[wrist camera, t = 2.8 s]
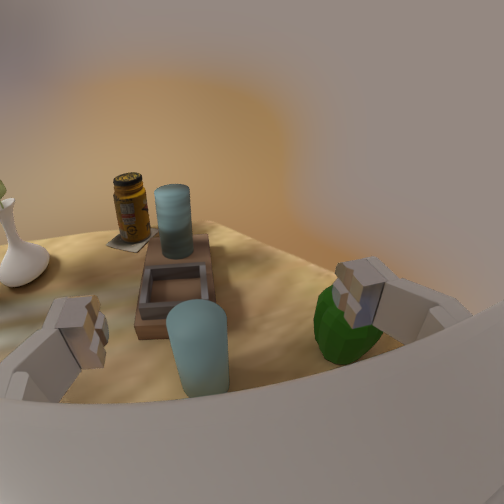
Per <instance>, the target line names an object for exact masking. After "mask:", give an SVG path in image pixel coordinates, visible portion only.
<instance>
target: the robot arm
mask: <svg viewBox="0 0 504 504" xmlns="http://www.w3.org/2000/svg"><path fill="white" fill-rule="evenodd" d="M335 274H336V276H337V277H338V278H337V279H336V281H335V282H334V283H333V288H332V296H333V300H334V303H335V305H336V306H337V308H338V309H340V310H342V311H344V312H345V313H344V318H345V319H346V321H347V322H348V324H349V325H350V326H351V328H352V329H354V328H359V327H363V326H367V325H371V324H373V326H375V327H376V328H378V329H380V330H381V331H383V332H385V333H386V334H388V335H389V336H391V337H393V338H394V339H396V340H398V341H399V342H401V343H403V344H404V345H405V346H402V347H400V348H397V349H394V350H391V351H389V352H386V353H383V354H380V355H377V356H374V357H371V358H368V359H365V360H362V361H359V362H356V363H353V364H349V365H346V366H343V367H339V368H336V369H332V370H329V371H325V372H321V373H318V374H314V375H310V376H306V377H302V378H298V379H294V380H290V381H285V382H281V383H276V384H272V385H267V386H262V387H257V388H252V389H246V390H241V391H235V392H229V393H223V394H216V395H209V396H202V397H194V398H186V399H176V400H166V401H154V402H139V403H117V404H70V403H59V401H60V400H61V398H62V397H63V395H64V394H65V393H66V391H67V390H68V389H69V387H70V386H71V384H72V383H73V382H74V380H75V379H76V378H77V376H78V375H79V373H80V372H81V369H96V368H104V364H105V357H106V351H105V349H104V346H105V345H106V344H107V343H108V339H109V330H108V324H107V320H106V318H105V315H103V314H102V313H101V312H100V311H99V309H100V305H101V304H100V302H99V300H98V297H97V296H96V295H83V296H70V297H59V298H56V299H54V301H53V303H52V305H51V308H50V310H49V312H48V315H47V317H46V319H45V322H44V324H43V326H42V329H41V330H37V331H36V332H34V333H33V334H32V335H31V336H30V337H29V338H27V339H26V340H25V341H24V342H23V343H22V344H21V345H19V346H18V347H17V348H16V349H15V350H14V351H13V352H12V353H10V354H9V355H8V356H7V357H6V358H5V359H4V360H3V361H2V362H1V363H0V504H504V300H503V301H501V302H499V303H497V304H495V305H494V306H491V307H489V308H488V309H486V310H484V311H482V312H480V313H478V314H476V315H474V316H473V315H472V314H471V313H470V312H469V311H468V310H467V309H466V308H465V307H464V306H463V305H462V304H461V303H460V302H459V301H458V300H457V299H455V298H453V297H451V296H448V295H445V294H443V293H440V292H437V291H435V290H432V289H430V288H427V287H425V286H422V285H420V284H417V283H414V282H412V281H409V280H406V279H404V278H402V279H399V278H398V277H397V276H396V275H395V274H394V273H393V272H392V271H391V270H390V269H389V268H388V267H387V266H385V264H384V263H383V262H381V261H380V260H379V259H378V258H377V257H374V256H372V257H367V258H363V259H358V260H353V261H347V262H341V263H338V264H337V266H336V270H335Z"/></svg>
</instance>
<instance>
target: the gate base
mask: <svg viewBox="0 0 504 504" xmlns="http://www.w3.org/2000/svg"><path fill="white" fill-rule="evenodd" d="M189 190H190V189H189V187H188V186H186V185H182V184H169V185H164V186H161V187H159V188H157V189H156V190H155V191H154V194H155V203H156V212H157V219H158V228H159V235H160V237H155V238H150V239H149V244H148V249H147V254H146V258H145V264H144V269H143V274H142V279H141V285H140V291H139V297H138V303H137V309H136V316H135V323H134V327H135V330H136V333H137V336H138V339H139V340H147V339H168V338H169V335H168V331H167V326H166V319H167V316H168V314H169V312H170V311H171V310H172V309H173V308H174V307H175V306H176V305H178V304H180V303H182V302H185V301H188V300H193V299H203V300H208V301H211V302H214V303H216V298H215V290H214V281H213V273H212V265H211V256H210V247H209V238H208V234H197V235H192V221H191V206H190V191H189Z"/></svg>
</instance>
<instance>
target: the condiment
mask: <svg viewBox="0 0 504 504" xmlns="http://www.w3.org/2000/svg"><path fill="white" fill-rule="evenodd" d="M113 183H114V190H115V192H114V195H113V197H114V203H115V209H116V214H117V220H118V225H119V230H120V234H118V235H117V236H116V237H115V238H113V239H112V240H111V241H110V242H108V243H107V244H106V245H107V246H110V247H113V248H117V249H122V250H127V251H130V252H136V253H137V251H138V250H139V249H141V247H142V246H143V245H145V243H147V242H148V241H149V239H150V238H152V237H153V236H154V235H155V234H156V233H157V232H158V231H159V229H154V228H150V221H149V214H148V206H147V199H146V190H145V188H144V187H143V182H142V175H141V174H139V173H135V172H131V173H126V174H122V175H119V176H117V177H116V178H114V181H113ZM134 244H136V245H134ZM132 245H133V246H132Z"/></svg>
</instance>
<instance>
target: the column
mask: <svg viewBox="0 0 504 504" xmlns="http://www.w3.org/2000/svg"><path fill="white" fill-rule="evenodd" d="M166 326H167V331H168V335H169V339H170V343H171V347H172V350H173V354H174V358H175V362H176V365H177V369H178V372H179V376H180V379H181V383H182V386H183V389H184V392H185V393H186V395H187V396H188V397H189V398H194V397H202V396H209V395H216V394H223V393H227V391H228V389H229V364H228V339H227V317H226V314H225V312H224V310H223V309H222V308H221V307H220V306H219V305H217V304H216V303H214V302H211V301H208V300H203V299H193V300H188V301H185V302H182V303H180V304H178V305H176V306H175V307H174V308H173V309H172V310H171V311H170V312H169V314H168V316H167V319H166Z"/></svg>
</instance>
